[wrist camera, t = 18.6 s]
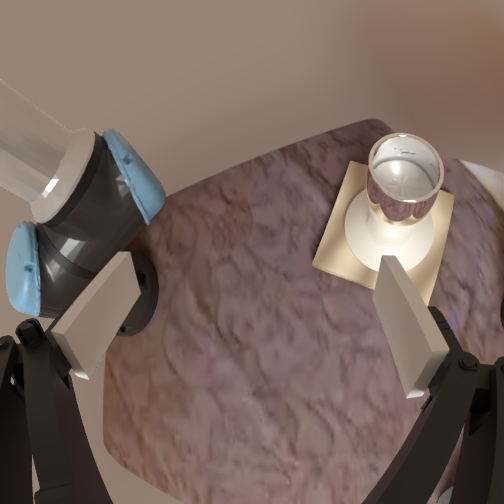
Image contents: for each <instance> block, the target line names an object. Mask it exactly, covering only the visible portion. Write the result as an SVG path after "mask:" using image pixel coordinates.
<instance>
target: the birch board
mask: <svg viewBox="0 0 504 504" xmlns="http://www.w3.org/2000/svg"><path fill="white" fill-rule="evenodd" d="M367 168H368V165H365V164H361V163H358V162H354V161H350V163H349V166H348V169H347V172H346V175H345V178H344V181H343V183H342V186H341V189H340V192H339V195H338V197H337V200H336V203H335V206H334V208H333V211H332V214H331V216H330V219H329V222H328V224H327V227H326V230H325V232H324V235H323V237H322V240H321V242H320V245H319V248H318V250H317V253H316V255H315V258H314V260H313V263H312V266H313V267H315V268H318V269H320V270H323V271H326V272H328V273H331V274H334V275H336V276H339V277H342V278H344V279H347V280H349V281H352V282H355V283H357V284H360V285H363V286H365V287H368V288H370V289H373V290H375V285H376V281H377V276H378V272H376V271H373V270H371V269H369V268H368V267H366V266H364V265H363V264H362V263H361V262H360V261H359V260H358V259H357V258H356V257H355V256H354V254H353V253H352V251H351V250H350V248H349V245H348V243H347V240H346V235H345V217H346V213H347V210H348V208H349V206H350V204H351V202H352V201H353V200H354V198H355V197H356V196H357V195H358V194H359V193H361V192H362V191H363V190H365V189H366V174H367ZM454 196H455V195H453V194H450V193H448V192H445V191H442V190H439V193H438V196H437V199H436V201H435V203H434V205H433V207H432V209H431V211H430V214H431V217H432V221H433V227H434V235H433V241H432V244H431V247H430V249H429V251H428V253H427V255H426V256H425V258H424V259H423V260H422V261H421V262H420V263H419V264H418V265H417V266H415V267H414V268H412V269H410V270H408V271H406V273H407V274H408V276H409V278H410V279H411V281H412V283H413V284H414V286H415V287H416V289H417V291H418V292H419V294H420V296H421V298H422V299H423V301H424V303H425V304H426V306H428V303H429V300H430V297H431V294H432V290H433V287H434V284H435V281H436V277H437V274H438V270H439V266H440V263H441V259H442V255H443V251H444V247H445V243H446V238H447V234H448V229H449V224H450V219H451V214H452V208H453V203H454Z"/></svg>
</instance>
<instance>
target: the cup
mask: <svg viewBox="0 0 504 504" xmlns="http://www.w3.org/2000/svg"><path fill="white" fill-rule="evenodd" d="M452 490H453V486H452V487H450V488H449V489H447V490H446V491H445V492H444V493H443V494H442V495H441V496H440V497H439V499H438V502H437V504H449V502H450V498H451V494H452Z"/></svg>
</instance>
